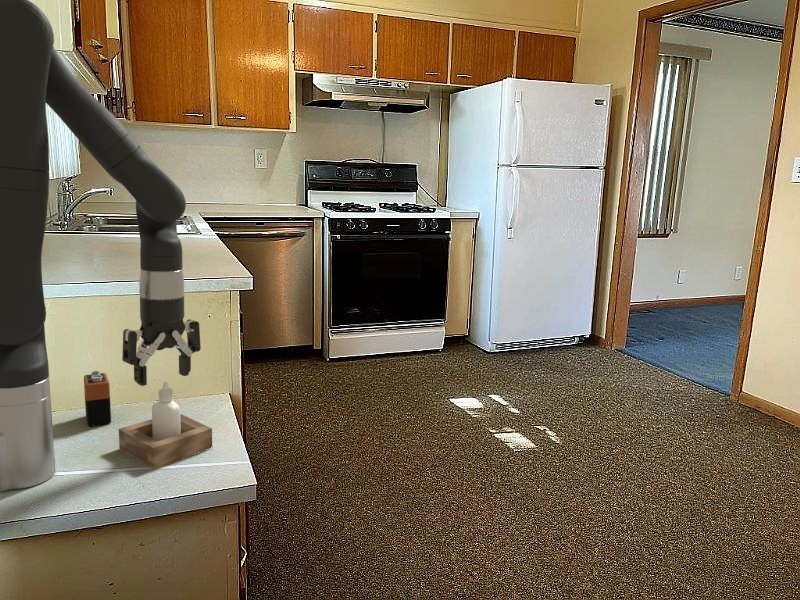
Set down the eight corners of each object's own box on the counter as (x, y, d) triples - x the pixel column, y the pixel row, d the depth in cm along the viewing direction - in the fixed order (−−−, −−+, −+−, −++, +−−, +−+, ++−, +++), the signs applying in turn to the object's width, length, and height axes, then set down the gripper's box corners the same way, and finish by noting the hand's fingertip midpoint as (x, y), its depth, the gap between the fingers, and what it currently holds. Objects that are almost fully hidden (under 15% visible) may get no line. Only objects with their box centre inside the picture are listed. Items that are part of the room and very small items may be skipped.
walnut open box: (154, 471, 109) (153, 448, 108) (119, 451, 116) (118, 428, 115) (212, 450, 118) (212, 428, 117) (176, 432, 125) (176, 411, 125)
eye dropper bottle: (175, 435, 120) (173, 376, 118) (182, 446, 116) (181, 385, 114) (151, 439, 118) (149, 379, 116) (158, 451, 113) (156, 389, 111)
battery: (88, 427, 125) (85, 380, 123) (85, 415, 130) (83, 370, 128) (111, 424, 127) (109, 377, 125) (108, 412, 133) (106, 368, 131)
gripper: (135, 301, 103) (138, 393, 107) (208, 292, 115) (208, 376, 118) (112, 294, 108) (115, 383, 111) (185, 286, 119) (185, 367, 122)
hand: (163, 379), depth 114 cm, fingers open, 8 cm apart
